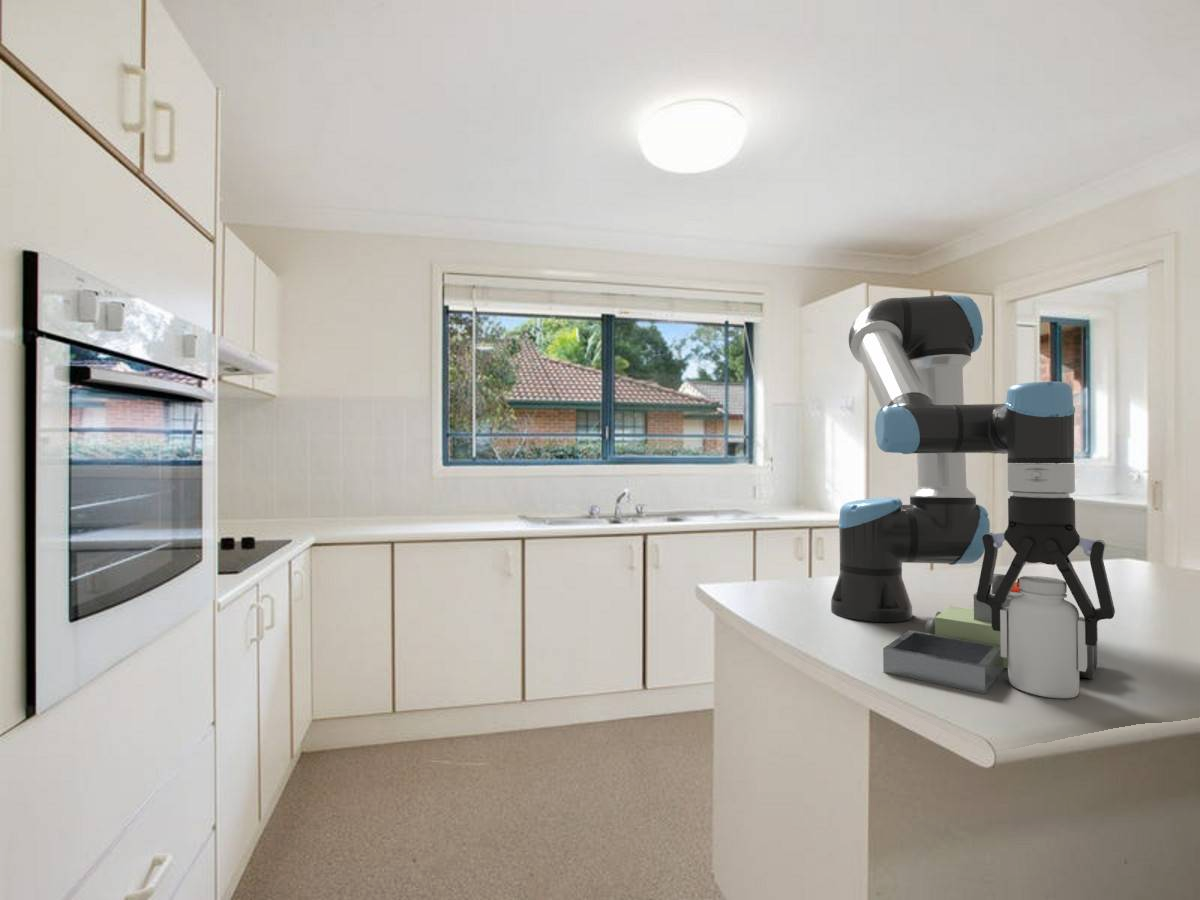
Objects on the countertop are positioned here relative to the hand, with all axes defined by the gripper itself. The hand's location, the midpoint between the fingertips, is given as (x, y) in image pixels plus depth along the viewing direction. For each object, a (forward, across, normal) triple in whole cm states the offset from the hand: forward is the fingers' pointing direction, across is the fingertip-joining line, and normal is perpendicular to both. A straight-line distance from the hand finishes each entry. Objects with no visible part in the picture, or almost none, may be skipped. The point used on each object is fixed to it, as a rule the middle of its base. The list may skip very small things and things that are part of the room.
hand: (1042, 661), depth 85 cm
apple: (+4, -9, +42) cm, 43 cm away
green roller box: (+4, -6, +12) cm, 13 cm away
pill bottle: (+4, 0, 0) cm, 4 cm away
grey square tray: (+4, -12, -1) cm, 13 cm away
